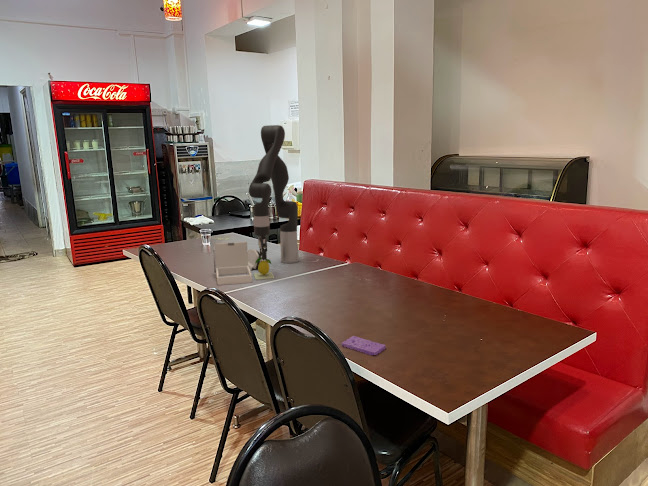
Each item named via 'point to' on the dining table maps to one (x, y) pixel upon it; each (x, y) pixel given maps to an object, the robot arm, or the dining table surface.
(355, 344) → the sponges
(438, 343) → the dining table surface
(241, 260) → the case
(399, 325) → the dining table surface
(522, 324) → the dining table surface
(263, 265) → the lemon
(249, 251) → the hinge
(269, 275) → the mat
